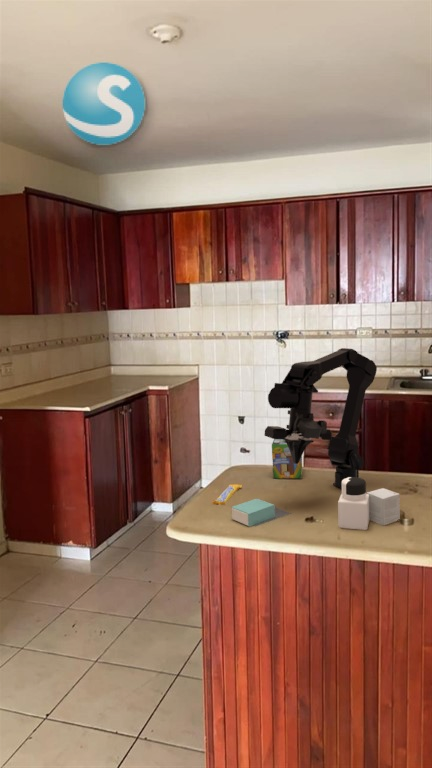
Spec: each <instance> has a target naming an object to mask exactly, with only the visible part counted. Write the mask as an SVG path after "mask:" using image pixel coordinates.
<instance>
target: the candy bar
mask: <svg viewBox="0 0 432 768" xmlns="http://www.w3.org/2000/svg"><path fill="white" fill-rule="evenodd" d="M242 486H243V485H242V484H237V483H236V484H234V483H233V484H231V483H229V485H228V486H227V487H226V489H224V491H222V492H221V494H220V495H219V496H218V497H217V498H216V499H215V500H214V499H213V500H212V502H211V504H212V505H226V503H227V502H228V501H229V499H231V497H232V496H234V494H235V493H236V492H238V491H239V489H241V488H242Z"/></svg>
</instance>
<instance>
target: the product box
mask: <svg viewBox="0 0 432 768" xmlns="http://www.w3.org/2000/svg"><path fill="white" fill-rule="evenodd" d="M366 494H369V509H370V520H369V521H370V522H374V523H376V524H378V525H381V526H387V525H390V524H392V523H396V522H398V521H399V520H398V519H400V520H401V516H400V512H401V511H400V508H401V507H400V504H401V503H400V502H401V501H400V493H398V492H396V491H393V490H390V489H387V488H384V487H382V488H378V489H375V490H371V491H366ZM397 520H398V521H397Z"/></svg>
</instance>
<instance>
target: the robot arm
mask: <svg viewBox="0 0 432 768" xmlns="http://www.w3.org/2000/svg"><path fill="white" fill-rule="evenodd" d="M340 367H342V368H343V369H344V370H346V375H345V376H346V377H345V378H346V379H347V382H348V391H347V395H346V399H345V403H344V404H345V405H344V409H343V412H342V418H341V422H340V427H339V429H338V430H339V431H338V433H336V435H335V436H333V433H332V431H331V429H328V428H327V427H328V423H327V421H326V420H320V419H319V420H314V413H312V403H313V393H314V394H315V393H316V394H317V393H318V392H319V390H318V389H317V388H316V387H315V385H314V384H316V383H317V382H319V381H320V380H321V379H322V377H323V375H325V374H327V373H329V372H331V371H334V370H336V369H338V368H340ZM377 371H378V367H377V365H376V364H375V361H374V360H372V359H369V358H368V357H366V356H365V355H363V354H361V353H359V352H358V351H356V350H355V349H354V348H347V347H346V348H345V347H344V348H343V347H342V348H339V349H338V350H337V351H334V352H332V353H329V354H327V355H324V356H322V357H319V358H317V359H315V360H308V361H300V362H295V363H293V364H292V365H291V366H290V370H288V372H287V374H286V376H285V378H284V379H283V380H282V382H281V383H280V382H275V383H274V387H272V388H271V390H270V391H269V392H268V394H267V400H268V404H269V406H270V407H271V408H273V409H290V410H287V414H288V415H289V418H288V419H289V420H288V421H289V422H288V424H286V426H285V427H286V428H285V427H282V426H276V425H275V426H273V425H270V426H269V425H267V426H266V427H265V429H264V434H263V435H264V436H265V437H267V438H270V439H273V440H274V439H283V440H285V441H286V443H287V445H288V447H289V450H290V453H291V456H292V459H293V462H294V463H295V464H298V463H299V461H300V459H301V456H302V457H303V454H304V453H305V452H304V451H306V448H307V447H308V446H309V445H310V444H312V443H314V442H315V440H316V439H317V440H318V439H321V440H323V441H329V443H328V447H327V450H328V451H327V456H328V457H329V460H330V464H331V466H336V467H335V473H334V482H333V483H332V486H334V487H337V488H340V489H342V480H343V479H345V478H348V477H358V478H360V476H359V474H360V473H359V471H360V470H361V469H363V468H364V463H365V460H364V459H363V458H362V456H361V455H360V454H359V443H358V440H357V435H356V434H357V430H358V425H359V422H360V419H361V418H360V417H361V413H362V408H363V404H364V400H365V394H366V390H367V389H368V388H369V387H370V385H372V384H373V383H374V380H375V377H376V375H377ZM312 439H315V440H312Z"/></svg>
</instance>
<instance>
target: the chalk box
mask: <svg viewBox="0 0 432 768" xmlns="http://www.w3.org/2000/svg"><path fill="white" fill-rule="evenodd" d="M271 456H272V458H271V459H272V473H273V474H272V479H302V478H303V477H302V476H303V455H302V456H301V459H300V461H299V463H298V464H295V463H294V462H293V459H292V456H291V453H290V450H289V447H288V445H287V443H286V441H285V440H283V439H273V441H272V443H271Z"/></svg>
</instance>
